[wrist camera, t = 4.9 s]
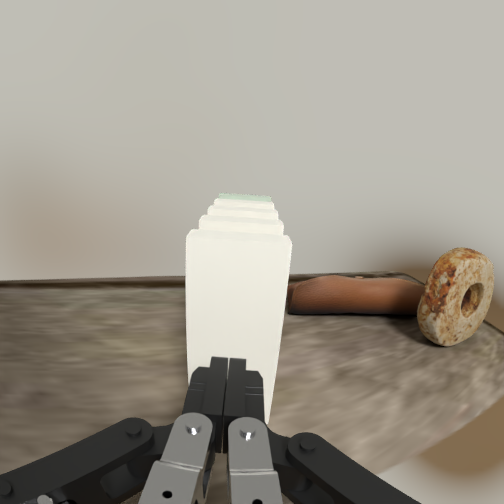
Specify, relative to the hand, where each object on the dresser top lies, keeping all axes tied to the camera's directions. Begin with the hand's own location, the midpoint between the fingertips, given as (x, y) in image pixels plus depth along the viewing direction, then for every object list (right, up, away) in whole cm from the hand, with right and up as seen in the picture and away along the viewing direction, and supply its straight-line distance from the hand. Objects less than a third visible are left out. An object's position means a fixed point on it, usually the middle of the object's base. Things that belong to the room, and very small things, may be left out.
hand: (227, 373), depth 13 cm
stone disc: (+22, -4, +16) cm, 27 cm away
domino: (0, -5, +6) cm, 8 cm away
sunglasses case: (+14, -2, +24) cm, 28 cm away
